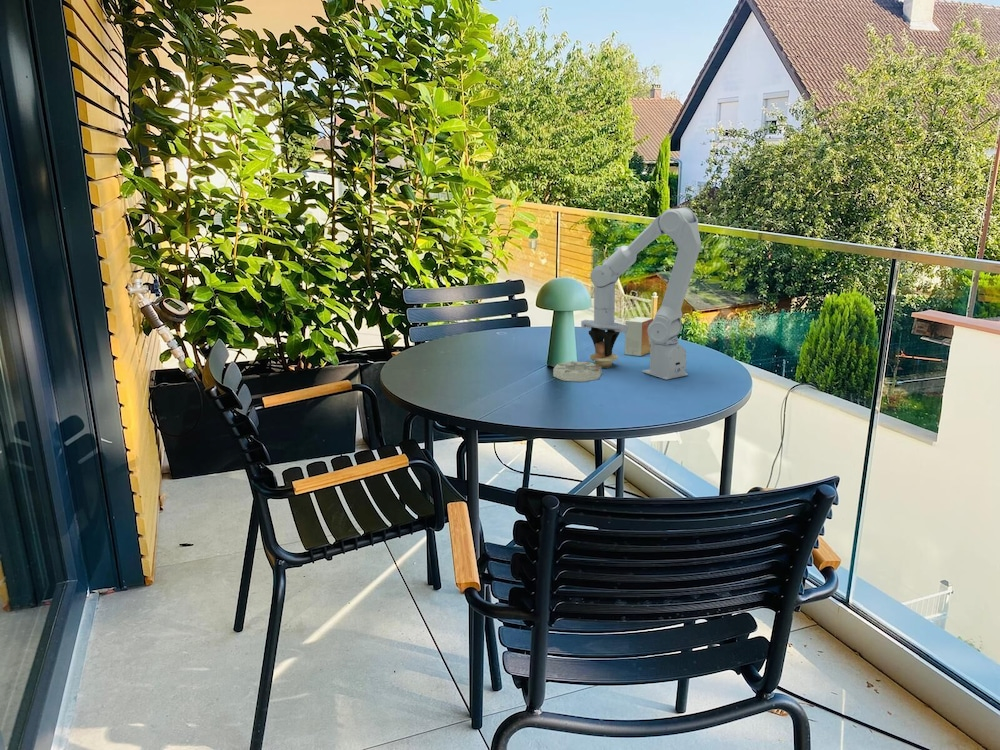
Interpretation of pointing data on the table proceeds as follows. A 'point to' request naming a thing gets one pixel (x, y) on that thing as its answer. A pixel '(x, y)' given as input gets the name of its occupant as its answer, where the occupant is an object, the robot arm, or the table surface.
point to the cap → (602, 356)
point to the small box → (637, 336)
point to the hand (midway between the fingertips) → (603, 354)
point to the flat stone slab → (577, 371)
